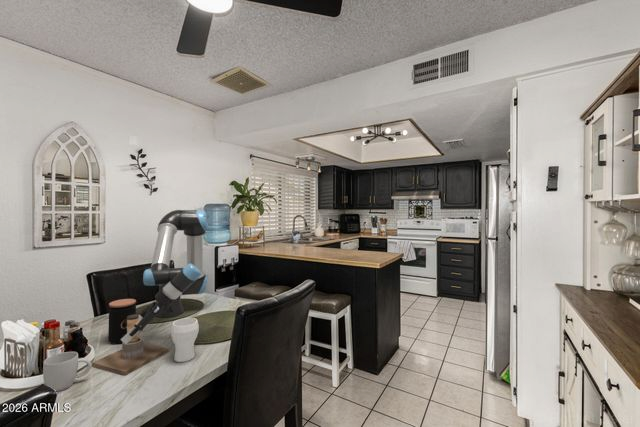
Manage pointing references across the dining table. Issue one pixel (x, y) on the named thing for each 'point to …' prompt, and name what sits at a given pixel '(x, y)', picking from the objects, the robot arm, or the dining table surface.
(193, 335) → the cup
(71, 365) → the mug
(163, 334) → the dining table surface
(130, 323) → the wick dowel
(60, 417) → the dining table surface
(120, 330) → the coffee jar
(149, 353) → the base
